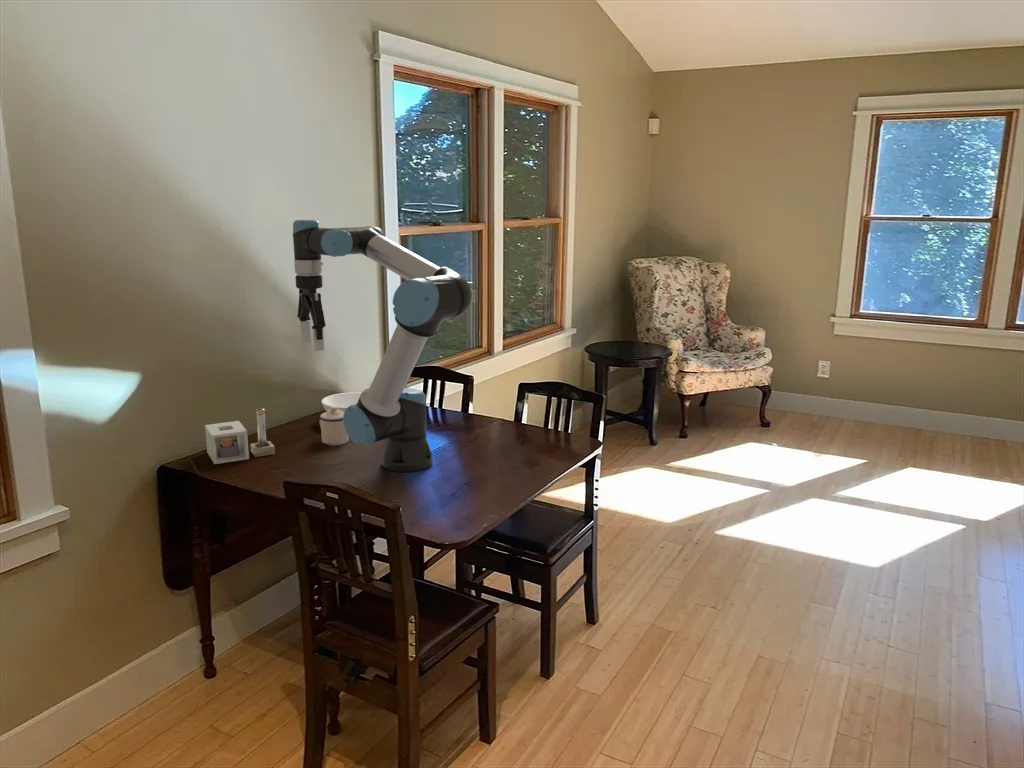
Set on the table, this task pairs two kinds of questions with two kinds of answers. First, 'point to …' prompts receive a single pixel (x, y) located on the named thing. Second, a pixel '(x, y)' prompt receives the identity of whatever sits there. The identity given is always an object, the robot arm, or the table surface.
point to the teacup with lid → (333, 427)
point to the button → (226, 442)
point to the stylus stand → (262, 449)
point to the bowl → (341, 400)
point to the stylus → (261, 427)
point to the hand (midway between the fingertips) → (312, 346)
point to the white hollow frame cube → (227, 453)
